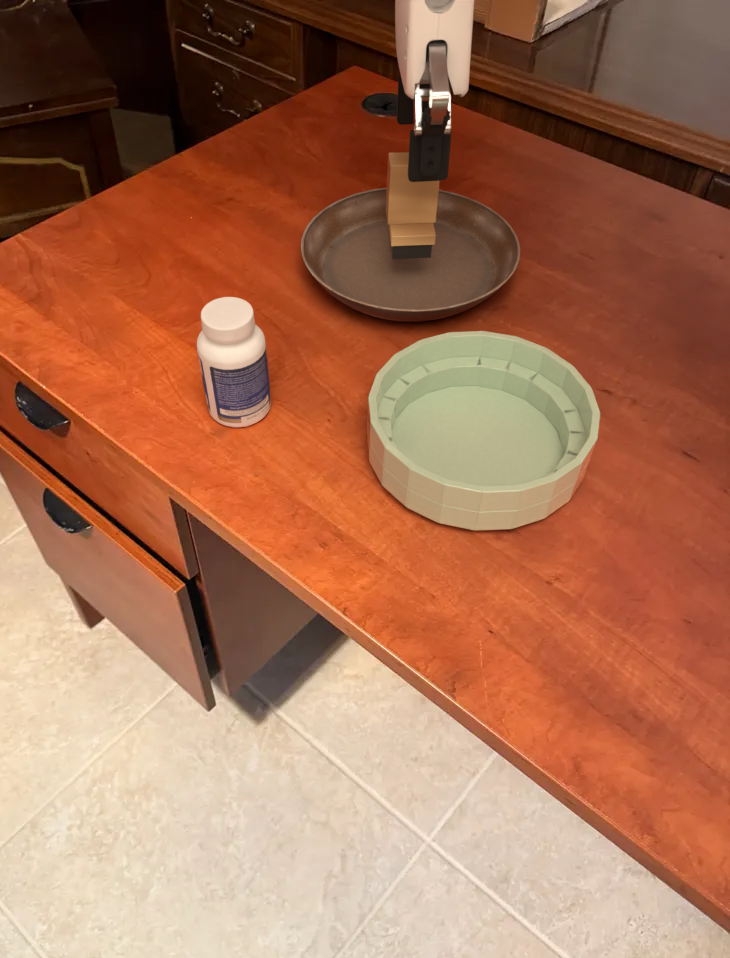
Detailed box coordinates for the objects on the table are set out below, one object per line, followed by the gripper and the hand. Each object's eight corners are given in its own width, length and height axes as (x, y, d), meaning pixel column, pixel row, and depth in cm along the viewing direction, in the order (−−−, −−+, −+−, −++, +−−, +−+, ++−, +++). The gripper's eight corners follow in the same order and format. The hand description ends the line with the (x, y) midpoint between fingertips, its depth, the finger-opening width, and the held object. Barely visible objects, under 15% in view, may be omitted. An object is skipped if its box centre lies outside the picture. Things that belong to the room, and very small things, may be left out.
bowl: (558, 373, 72) (571, 327, 68) (607, 530, 61) (625, 486, 57) (360, 381, 71) (361, 335, 67) (375, 539, 61) (378, 496, 57)
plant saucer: (333, 200, 88) (333, 171, 86) (527, 227, 85) (533, 197, 82) (275, 319, 77) (272, 289, 74) (497, 357, 73) (503, 327, 70)
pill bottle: (284, 405, 70) (277, 310, 62) (238, 439, 67) (225, 345, 60) (240, 376, 72) (228, 281, 64) (194, 408, 70) (176, 313, 62)
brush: (382, 223, 80) (386, 141, 73) (428, 222, 80) (435, 139, 73) (388, 260, 76) (392, 177, 70) (435, 259, 76) (444, 175, 70)
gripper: (512, -54, 52) (480, 202, 65) (471, -133, 62) (451, 101, 76) (393, -48, 52) (385, 206, 65) (372, -128, 62) (369, 105, 76)
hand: (420, 149), depth 71 cm, fingers open, 9 cm apart
